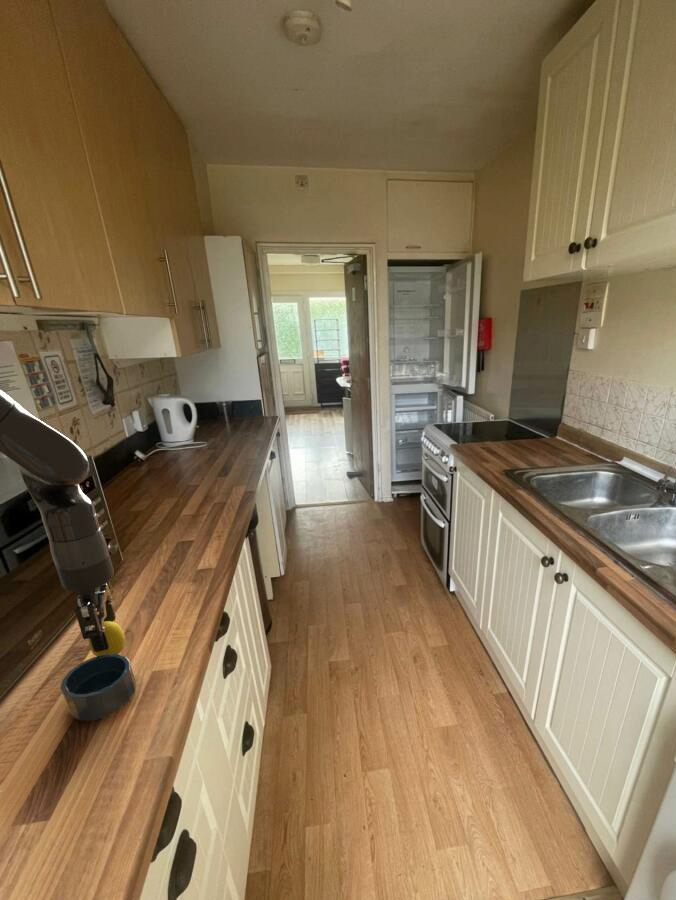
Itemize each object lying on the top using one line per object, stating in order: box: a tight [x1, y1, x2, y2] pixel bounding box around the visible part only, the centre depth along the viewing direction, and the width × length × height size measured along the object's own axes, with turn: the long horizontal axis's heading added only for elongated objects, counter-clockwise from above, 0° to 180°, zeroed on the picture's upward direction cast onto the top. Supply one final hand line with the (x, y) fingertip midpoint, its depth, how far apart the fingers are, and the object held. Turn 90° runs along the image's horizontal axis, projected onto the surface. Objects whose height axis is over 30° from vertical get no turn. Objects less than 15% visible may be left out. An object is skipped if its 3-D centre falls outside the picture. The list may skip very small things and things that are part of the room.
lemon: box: [88, 621, 126, 657], centre depth 78 cm, size 6×6×8 cm
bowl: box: [59, 653, 137, 722], centre depth 70 cm, size 9×9×6 cm
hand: (106, 634), depth 78 cm, fingers open, 8 cm apart
